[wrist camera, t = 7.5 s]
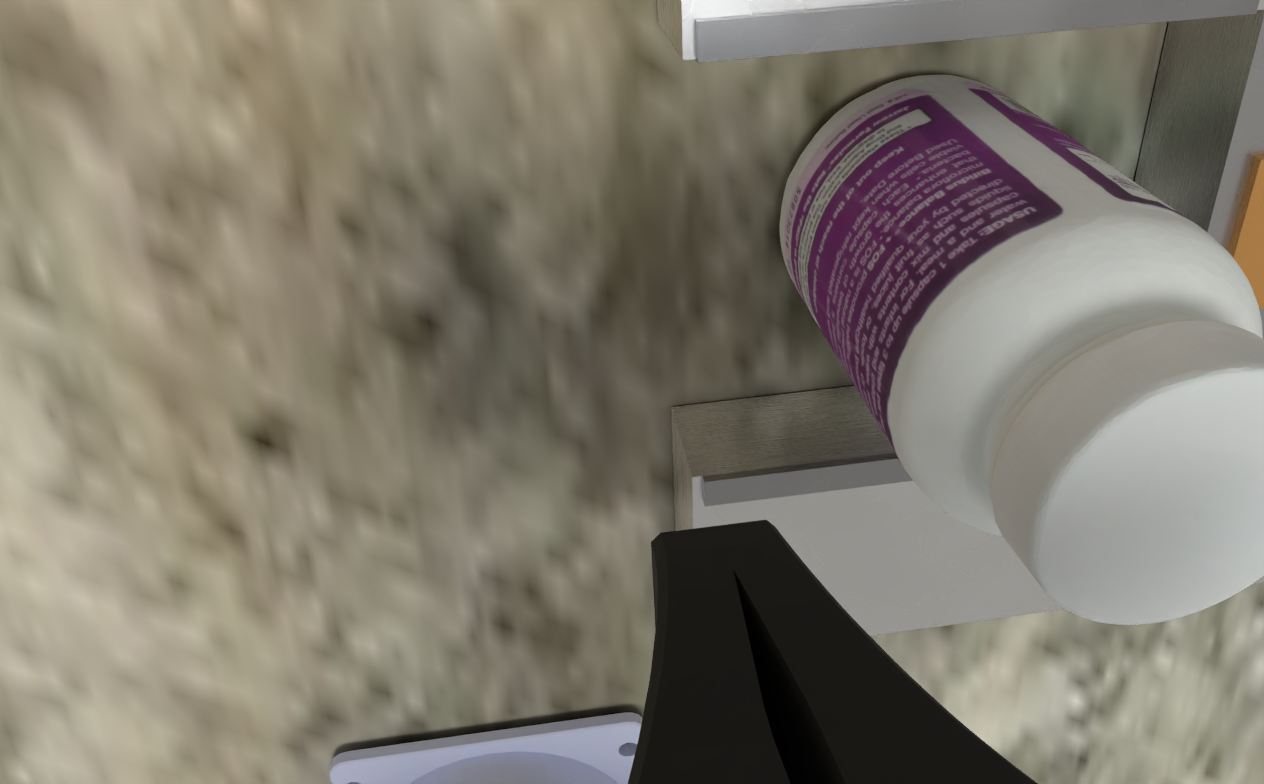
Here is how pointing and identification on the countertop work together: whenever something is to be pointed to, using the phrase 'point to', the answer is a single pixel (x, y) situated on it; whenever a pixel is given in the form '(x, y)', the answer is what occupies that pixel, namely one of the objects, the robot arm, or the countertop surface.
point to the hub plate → (839, 418)
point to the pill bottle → (1039, 344)
